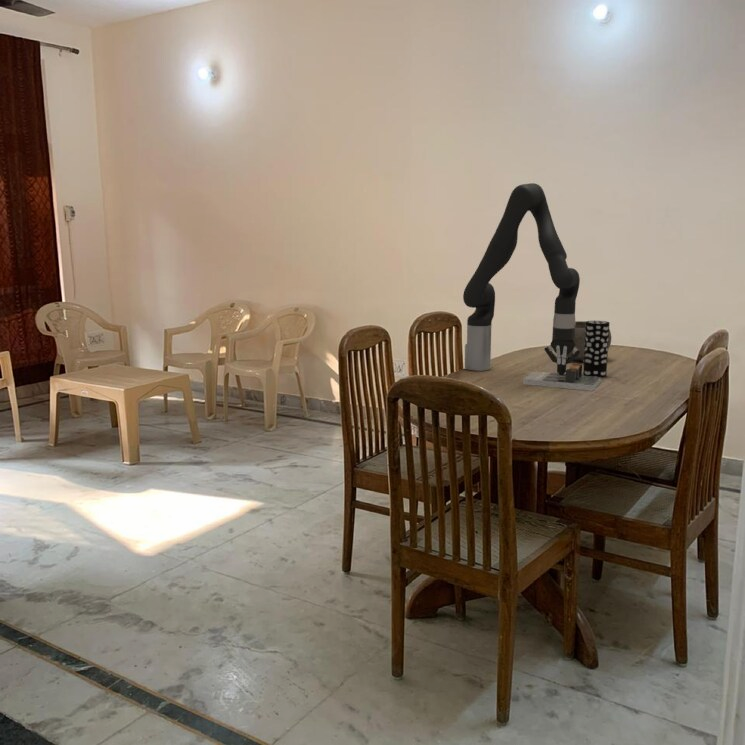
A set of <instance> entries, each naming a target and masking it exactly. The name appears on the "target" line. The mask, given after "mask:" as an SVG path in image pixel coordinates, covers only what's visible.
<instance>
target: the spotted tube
mask: <svg viewBox="0 0 745 745" xmlns="http://www.w3.org/2000/svg"><path fill="white" fill-rule="evenodd" d="M609 329H610V322H609V321H605V320H587V321H586V328H585V347H584V361H583V365H582V376H592V377H601V379H604V378H607V373H608V370H607V368H608V352H609V349H608V339H609Z"/></svg>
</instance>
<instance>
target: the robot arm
mask: <svg viewBox="0 0 745 745" xmlns="http://www.w3.org/2000/svg"><path fill="white" fill-rule="evenodd" d="M511 191H512V192H511V193H510V195H509V198H508V200H507V203H506V205H505V206H506V207H505V210H504V211H503V215H502V217H501V219H500V221H499V223H498V225H497V227H496V229H495V231H494V233H493V236H492V237H491V239H490V240H489V243H488V246H487V248H486V250H485V252H484V253H483V257H482V258H481V260H480V262H479V264H478V266H477V268H476V269H475V272H474V273H473V275H472V277H470V280H469V281H468V283H467V284H466V286H465V288H464V290H463V296H462V297H463V303H464V304H465V306H467V308H472V309H473V308H475V310H474V311H473V312H472V314H470V315H469V316H468V317H467V321H466V322H467V323H466V324H467V325H466V334H467V335H466V344H465V345H464V369H465V370H470V371H476V372H477V371H478V372H481V371H482V372H483V371H485V372H486V371H489V370H491V358H492V357H491V356H492V355H491V354H492V353H491V352H492V327H493V326H492V321H493V318H494V316H495V305H496V304H495V303H496V291H495V288H494V286H493V285H492V284H491V283H490V282H491V280H492V279H493V277H495V276H496V275H497V274H498V273H499V272H500V271H501V270H502V269H503V268H505V266H506V265H507V264H508V263H509V261H510V260H511V258H512V256H513V254H514V252H515V250H516V249H517V248H516V247H517V245H518V236H519V235H518V232H519V227H520V225H521V223H522V221H523V219H524V218H525V216H526V214H527V213H528V212H530V213H531V215H532V217H533V219H534V220H535V224H536V228H537V235H538V236H537V238H538V243H539V247H540V250H541V252H542V254H543V257H544V259H545V260H546V262H547V266H548V270H549V275H550V277H551V280H552V283H553V284H554V286H555V287H556V288H557V289H559V292H558V295H557V296H556V297H555V300H554V311H553V312H554V313H553V319H552V336H551V342H550V344H549V345H548V346H546V347H544V352H545V353H546V354H547V355H548V357H549V358H550V361H551V362H552V363H555V364H556V366H557V367H556V373H559V375H564V374H566V370H567V364H571V363H572V362H573V361H575V360H574V359H575V358H576V357H577V356H578V354H579V353H580V352H581V350H580V349H578V348H577V347H576V345H575V342H574V336H575V324H576V323H575V322H576V304H577V303H576V300H577V297H578V293H579V288H580V281H581V280H580V279H581V278H580V274H579V272H578V270H576V269H575V268H574V267H573V268H572V267H569V266H568V263H567V258H568V256H567V252H566V249H565V248H564V246H563V243H562V241H561V239H560V237H559V235H558V232H557V230H556V228H555V225H554V222H553V218H552V215H551V210H550V208H549V204H548V200H547V198H546V194H545V191H544V189H543V187H542V186H540V184H537V183H533V182H532V183H524V184H523V183H522V184H520V185H519V184H518V185H517V186H516V187H514V189H513V190H511ZM573 349H574V351H573V353H574V354H573V355H572V356H571V358H569V359H568V354H569V353H570V352H571V351H572V350H573ZM553 351H554V352H553ZM554 353H555V354H556V355H555V354H554Z"/></svg>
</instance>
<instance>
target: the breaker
mask: <svg viewBox="0 0 745 745" xmlns="http://www.w3.org/2000/svg"><path fill="white" fill-rule="evenodd" d="M568 369H573V370H576V379H578V378H579V369H580V366H573V364H572V365H569V367H568Z"/></svg>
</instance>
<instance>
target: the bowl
mask: <svg viewBox="0 0 745 745" xmlns="http://www.w3.org/2000/svg"><path fill="white" fill-rule="evenodd" d="M575 323H576V324H575V336H574V342H575V345H576V347H577V348H578V349H580V350H581V352H580V353H579V354H578V356H577V357H576V358H575V359H574V360H573V361H577V362H584V347H585V328H586V321H584V320H583V321H580V320H579V321H577V320H575ZM611 343H612V333H611V329H610V328H609V339H608V350H609V349H610V347H611ZM573 351H574V349H573V350H572V351H571V352H570V353H569V354H568V358H569V359H570V358H571V356H572V355H573V354H574V353H573ZM568 358H567V359H568Z"/></svg>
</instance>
